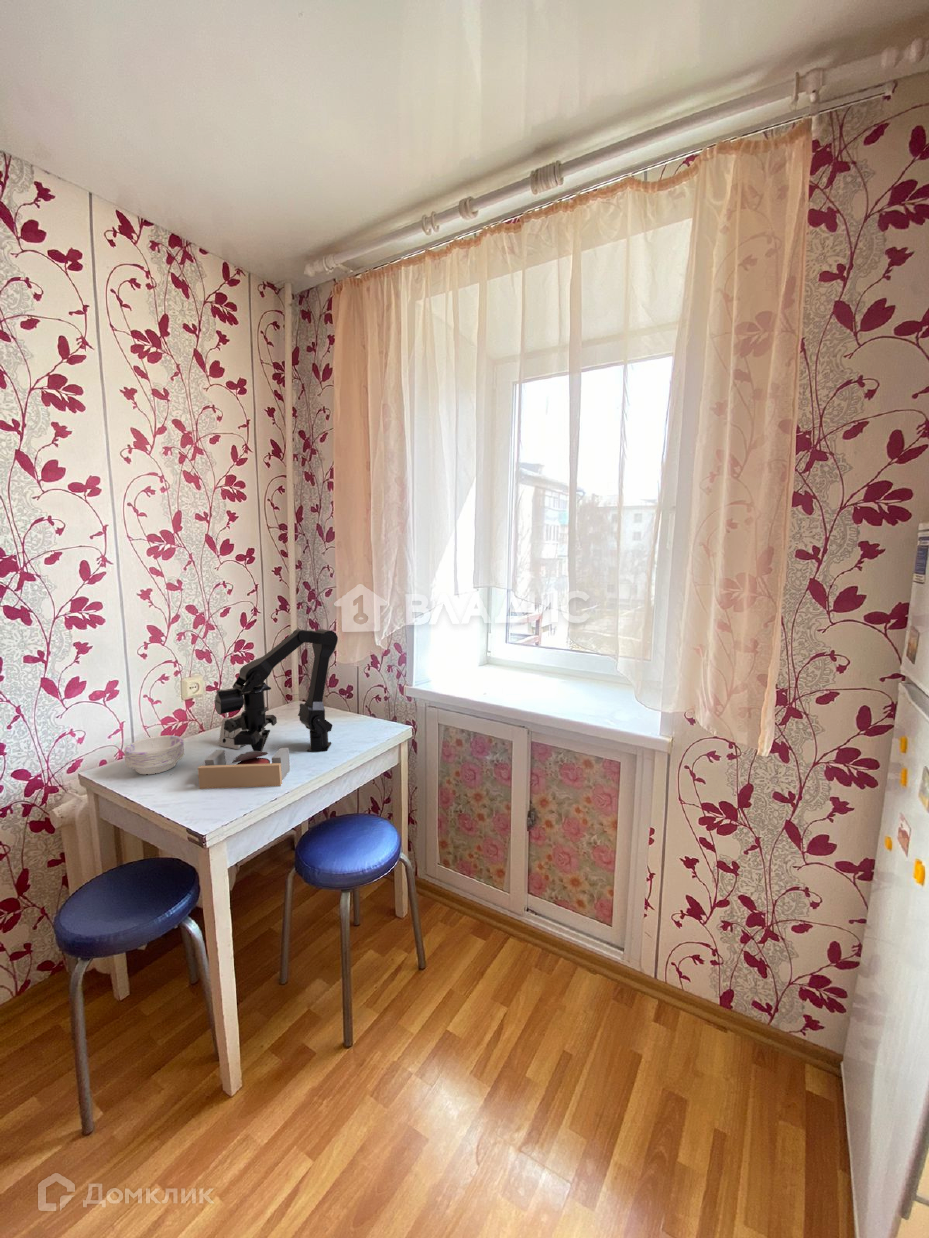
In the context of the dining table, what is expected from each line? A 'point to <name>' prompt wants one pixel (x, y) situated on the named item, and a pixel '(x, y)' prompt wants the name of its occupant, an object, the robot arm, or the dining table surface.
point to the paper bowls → (154, 754)
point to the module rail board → (243, 772)
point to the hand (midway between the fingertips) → (258, 756)
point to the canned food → (251, 758)
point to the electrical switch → (228, 736)
